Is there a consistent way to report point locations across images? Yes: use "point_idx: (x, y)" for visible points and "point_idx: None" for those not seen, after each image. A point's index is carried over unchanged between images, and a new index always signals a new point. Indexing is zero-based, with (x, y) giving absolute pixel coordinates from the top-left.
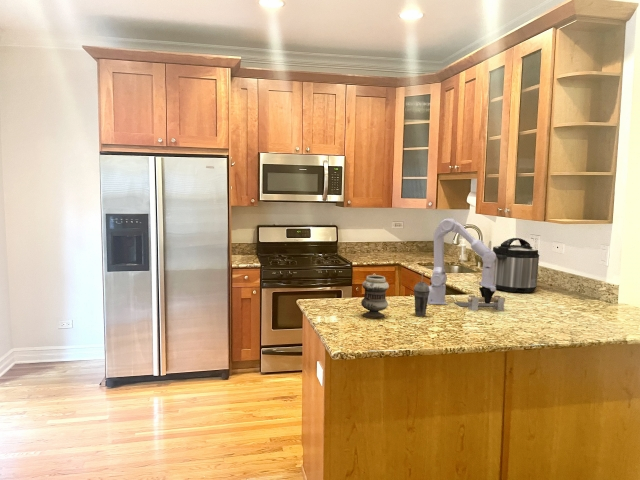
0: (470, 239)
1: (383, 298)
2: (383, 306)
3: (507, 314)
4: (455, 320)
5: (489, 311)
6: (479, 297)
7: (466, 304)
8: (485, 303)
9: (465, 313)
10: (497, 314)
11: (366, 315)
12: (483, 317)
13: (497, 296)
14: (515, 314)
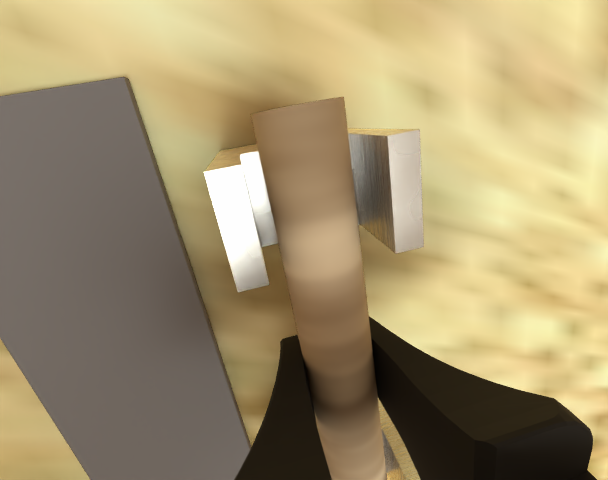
0: None
1: None
2: None
3: (473, 129)
4: (592, 473)
5: (376, 279)
6: (374, 471)
7: (185, 448)
8: (21, 274)
9: None
10: (475, 230)
11: None
12: (553, 346)
13: (254, 228)
14: (470, 26)
